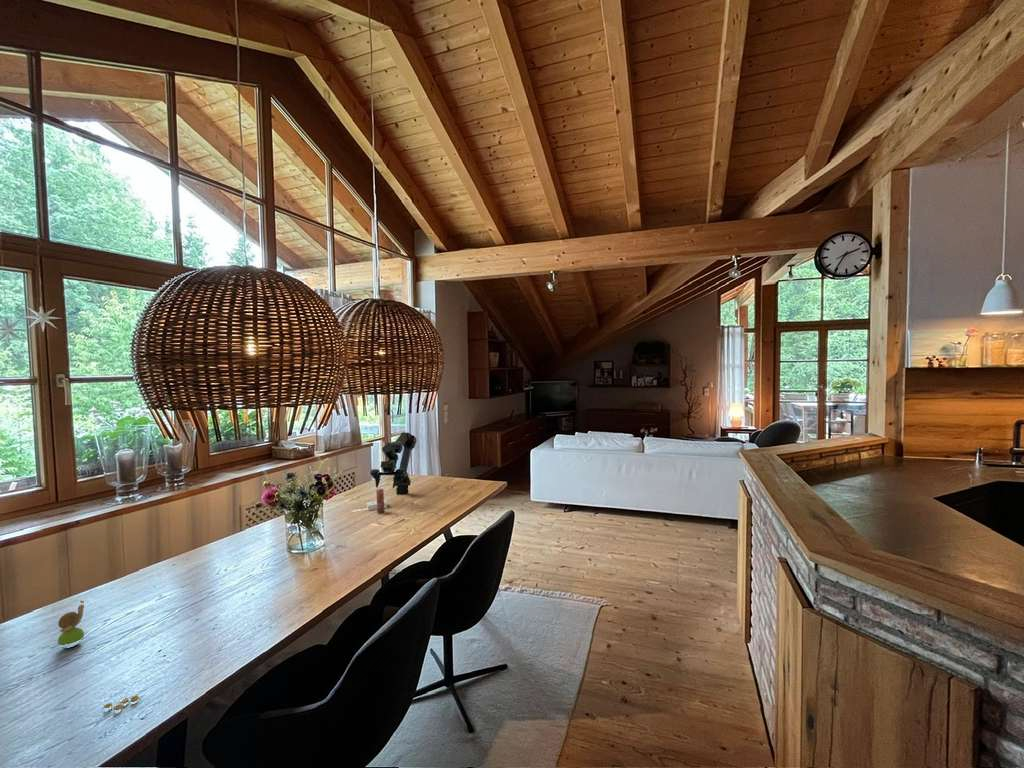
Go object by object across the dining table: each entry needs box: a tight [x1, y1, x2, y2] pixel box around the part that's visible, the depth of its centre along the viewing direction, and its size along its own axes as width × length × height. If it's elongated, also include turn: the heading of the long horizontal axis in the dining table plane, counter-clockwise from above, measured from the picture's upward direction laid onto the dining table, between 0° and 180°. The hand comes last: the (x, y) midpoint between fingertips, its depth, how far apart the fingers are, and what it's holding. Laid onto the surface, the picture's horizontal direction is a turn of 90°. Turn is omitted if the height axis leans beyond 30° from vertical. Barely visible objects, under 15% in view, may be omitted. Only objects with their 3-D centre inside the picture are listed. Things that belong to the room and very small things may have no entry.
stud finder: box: [366, 499, 388, 511], centre depth 243 cm, size 10×6×3 cm, turn 113°
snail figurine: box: [57, 600, 85, 646], centre depth 131 cm, size 5×6×12 cm
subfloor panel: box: [350, 508, 368, 513], centre depth 245 cm, size 19×17×1 cm
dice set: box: [103, 694, 140, 712], centre depth 107 cm, size 5×5×2 cm
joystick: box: [375, 488, 387, 515], centre depth 234 cm, size 5×5×14 cm
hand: (384, 487), depth 240 cm, fingers open, 9 cm apart
